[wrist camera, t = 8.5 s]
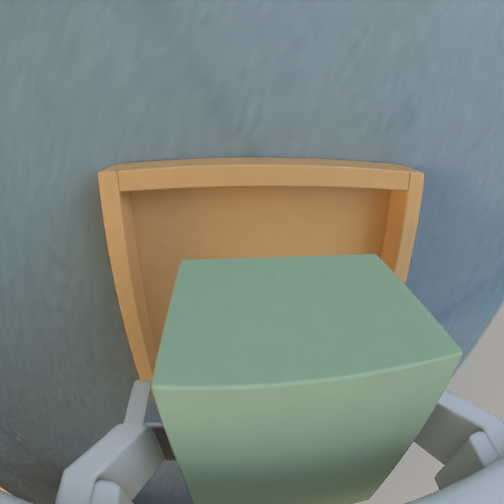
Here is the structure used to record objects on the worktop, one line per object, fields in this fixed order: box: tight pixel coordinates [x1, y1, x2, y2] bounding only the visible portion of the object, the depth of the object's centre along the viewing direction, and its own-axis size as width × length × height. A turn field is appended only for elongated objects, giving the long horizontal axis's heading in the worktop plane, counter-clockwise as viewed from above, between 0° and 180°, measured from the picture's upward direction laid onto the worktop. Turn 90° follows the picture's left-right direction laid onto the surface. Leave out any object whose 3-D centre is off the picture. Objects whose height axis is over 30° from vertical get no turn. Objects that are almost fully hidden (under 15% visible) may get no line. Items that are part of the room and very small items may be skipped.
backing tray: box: [98, 157, 425, 381], centre depth 15 cm, size 13×19×2 cm
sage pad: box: [151, 254, 463, 504], centre depth 8 cm, size 6×7×4 cm
